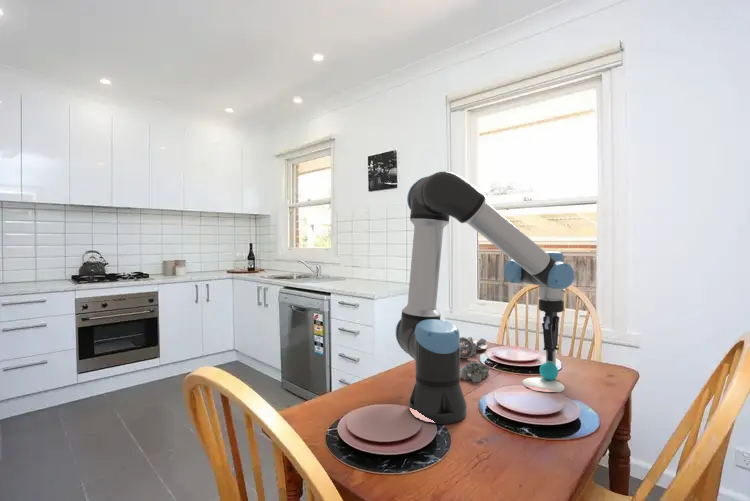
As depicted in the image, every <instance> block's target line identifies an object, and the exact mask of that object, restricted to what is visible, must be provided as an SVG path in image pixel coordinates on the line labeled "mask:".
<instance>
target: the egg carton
mask: <svg viewBox="0 0 750 501" xmlns="http://www.w3.org/2000/svg"><path fill="white" fill-rule="evenodd" d="M490 370H491V366H488V367H487V366H486V364H481V363H479V362H475V361H473V360H472V361H470V363H468V364H466V365H464V366H463V367H460V377H461V378H462V380H464V381H467V380H470V381H472V382H473V383H480V382H482V379H485V378H486V377H488V376H489V372H490ZM461 378H460V379H461Z"/></svg>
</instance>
